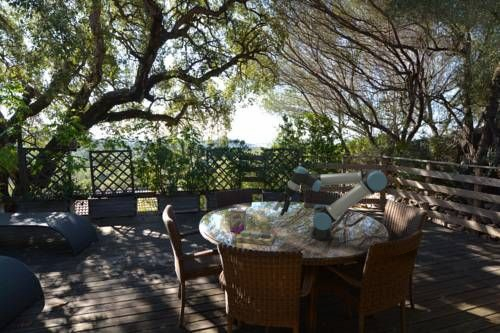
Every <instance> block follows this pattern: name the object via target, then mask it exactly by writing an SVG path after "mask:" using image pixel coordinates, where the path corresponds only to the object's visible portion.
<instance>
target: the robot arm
mask: <svg viewBox="0 0 500 333" xmlns="http://www.w3.org/2000/svg"><path fill="white" fill-rule="evenodd" d="M350 184H351V185H352V184H357V185H356V186H354V187H352V189H349V190H348V191H347V192H346V193H345V194H343V195H342V196H341V197H339V198H338V199H336V200H335V201H334V202H333V203H331V204H330V205H328V204H315V205H314V207H313V216H312V223H313V226H312V228H311V232H310V237H311V238H312V239H313V240H318V241H330V239H331V240H332V239H333V238H334V236H333V232H332V231H333V230H332V228H331V227H332V225H333V224H334V223H335V222H337V221H338V218H339V216H341V215H342V214H344V213H345V212H346V211H348V210H349V209H350V208H352V207H353V206H354V205H356V204H358V203H359V202H360V201H361V200H363V199H364V198H365V197H367V196H368V195H372V196H373V195H374V194H375V193H376V192H379V191H382V190H385V188H386V186H387V184H388V178H387V176H386V174H385V173H384V172H382V171H381V170H379V169H377V168H371V169H370V168H369V169H365V170H359V171H357V172H356V171H355V172H339V173H326V174H325V173H324V174H323V173H322V174H309V170H308V169H307V168H305V167H303V166H301V165H300V166H297V167H296V169H295V171H294V173H293V174H292V176H291V177H290V180H288V184H287V186H285V188H284V191H283V192H282V193H281V194H280V195H279V197H278V198H277V202H276V204H275V206H274V208H272V210H273V211H275V212H277V211H278V210H279V208H280V206H281V204H282V203H283V202H284V203H283V205H282V209H281V210H280V212H279V214H278V215H277V217H276V218H277V220H280V221H281V220H282V218H283V217H284V215H285V213H288V211H289V208H290V206H291V204H292V200H293V198H292V196H293V197H294V196H295V195H296V193H297V191H298V190H299V189H300V187H301V185H304V186H306V187H307V188H309V189H311V190H312V191H314V192H319V191H320V189H321V187H322V186H331V185H332V186H334V185H350Z"/></svg>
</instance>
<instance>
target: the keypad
mask: <svg viewBox="0 0 500 333" xmlns="http://www.w3.org/2000/svg"><path fill="white" fill-rule="evenodd" d="M252 232H253V231H251V233H252ZM262 233H263V232H261V234H262ZM275 240H276V234H275V233H271V237H270V239H266V238H261V236H260V237H259V238H256V237H251V235H250V236H249V237H246V236H241V233H239V234H238V235H237V236H236V237H235V243H242V244H243V243H245V244H251V245H252V244H253V245H262V246H272V244H273V243H274V241H275Z"/></svg>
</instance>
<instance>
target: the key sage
mask: <svg viewBox="0 0 500 333" xmlns="http://www.w3.org/2000/svg"><path fill="white" fill-rule="evenodd" d="M251 232H252V231H251V230H246V231H245V230H243V231H242V232H241V236H246V237H249V236H250V235H251Z"/></svg>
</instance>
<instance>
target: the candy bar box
mask: <svg viewBox="0 0 500 333" xmlns="http://www.w3.org/2000/svg"><path fill="white" fill-rule="evenodd" d="M229 211H230V212H229V213H230V214H229V215H230V216H229V217H230V223H229V224H230V226H229V227H230V228H229V231H230V232H233V233H239V234H240V233H241V232H242V231H243V230H245V231H247V209H246V210H245V209H239V208H232V209H230V210H229Z"/></svg>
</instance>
